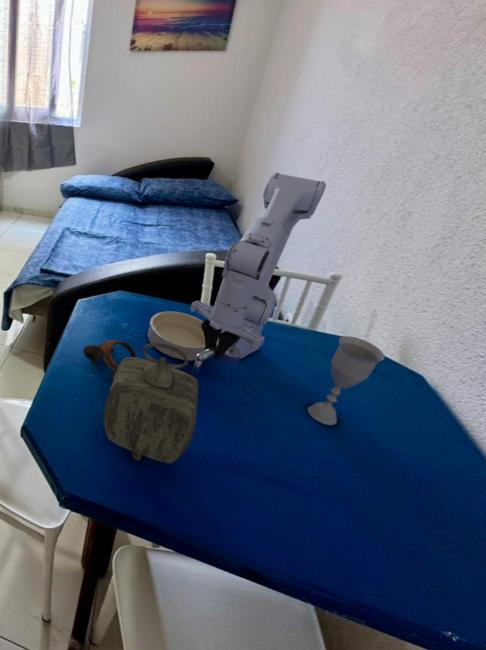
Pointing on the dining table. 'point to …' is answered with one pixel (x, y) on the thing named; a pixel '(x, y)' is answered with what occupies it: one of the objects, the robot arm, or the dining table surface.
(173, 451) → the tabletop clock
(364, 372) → the chalice
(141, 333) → the dining table surface
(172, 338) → the bowl
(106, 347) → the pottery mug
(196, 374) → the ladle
